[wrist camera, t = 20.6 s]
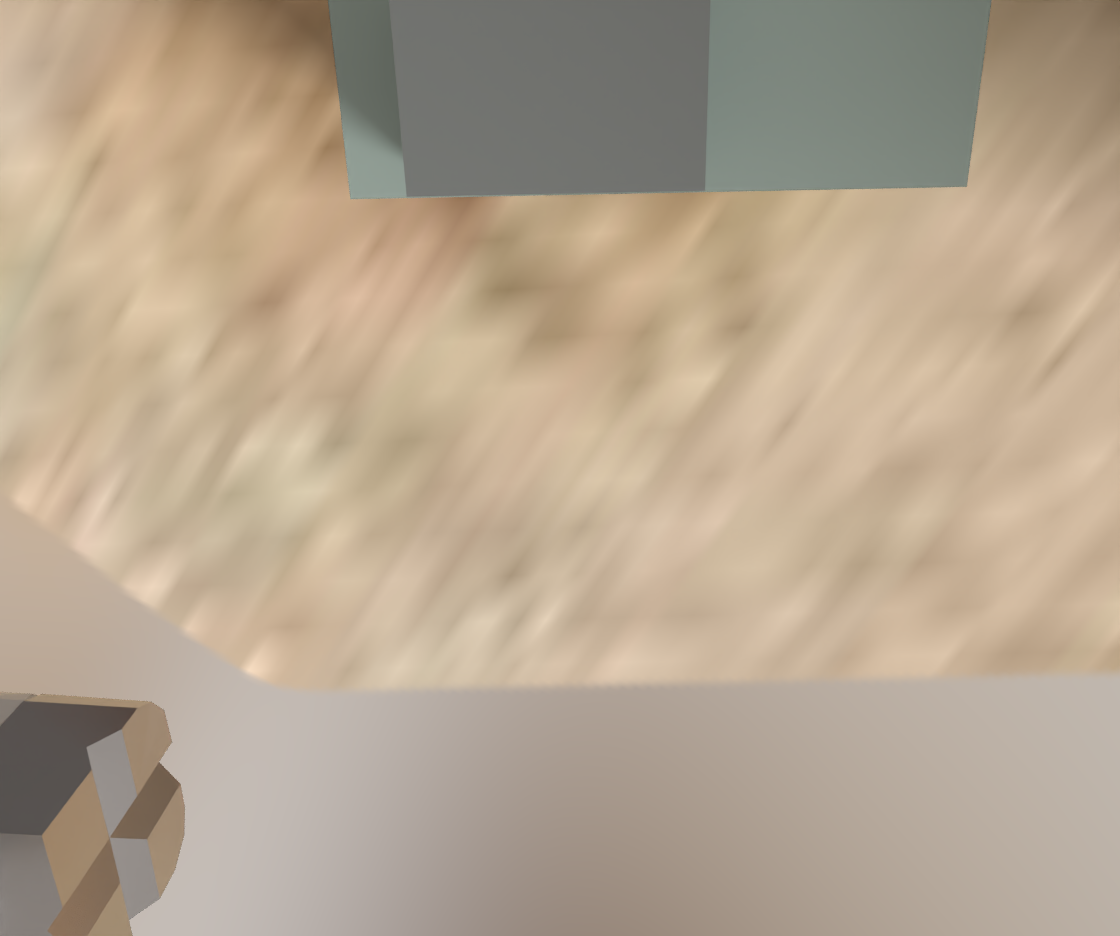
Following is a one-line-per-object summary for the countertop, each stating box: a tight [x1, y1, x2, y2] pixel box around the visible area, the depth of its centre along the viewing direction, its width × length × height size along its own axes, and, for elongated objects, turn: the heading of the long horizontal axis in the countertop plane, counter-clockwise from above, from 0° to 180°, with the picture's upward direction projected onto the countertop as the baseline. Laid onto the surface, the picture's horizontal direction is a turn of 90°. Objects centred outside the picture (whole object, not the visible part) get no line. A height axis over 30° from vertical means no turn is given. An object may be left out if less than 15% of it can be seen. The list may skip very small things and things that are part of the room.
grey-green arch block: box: [328, 0, 991, 199], centre depth 26 cm, size 14×5×14 cm, turn 92°
